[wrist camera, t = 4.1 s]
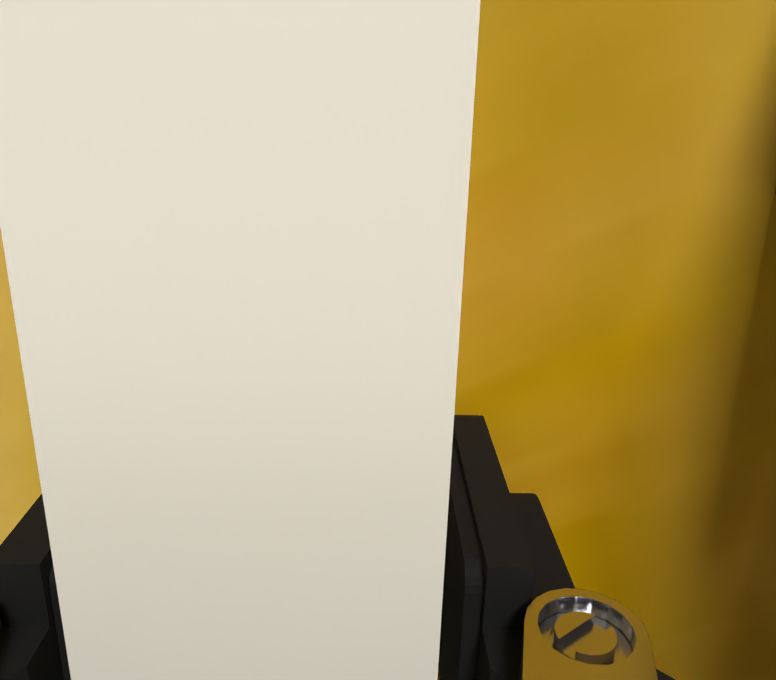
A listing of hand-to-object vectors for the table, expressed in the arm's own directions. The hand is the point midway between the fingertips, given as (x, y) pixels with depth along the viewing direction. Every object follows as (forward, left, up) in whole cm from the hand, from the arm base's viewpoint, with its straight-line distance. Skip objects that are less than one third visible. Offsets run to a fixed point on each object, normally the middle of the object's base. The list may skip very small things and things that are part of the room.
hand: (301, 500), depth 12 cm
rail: (0, 0, 0) cm, 0 cm away
